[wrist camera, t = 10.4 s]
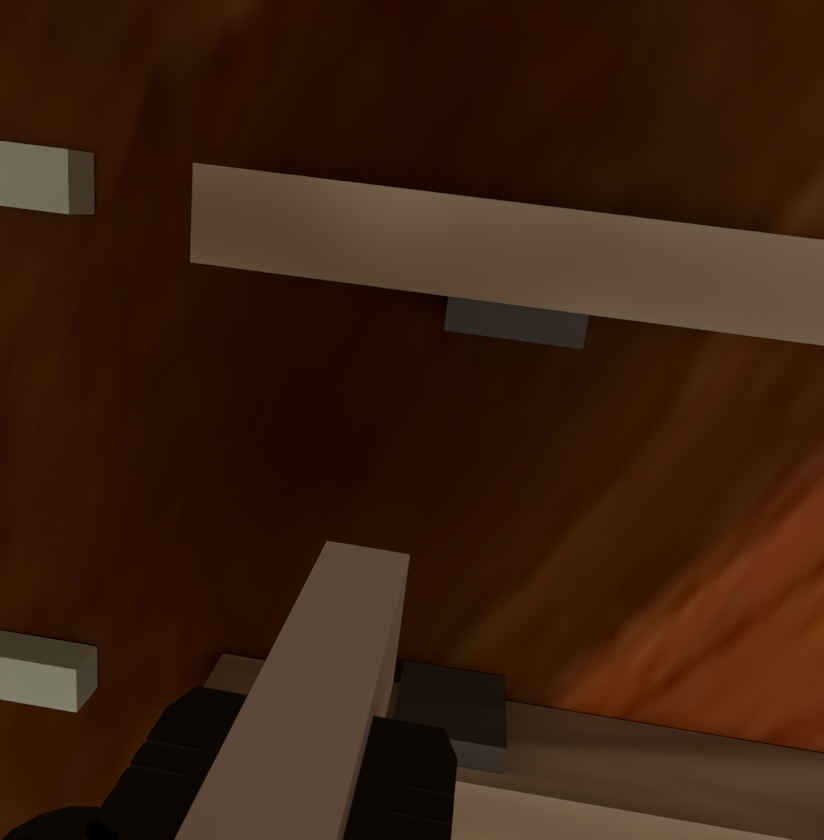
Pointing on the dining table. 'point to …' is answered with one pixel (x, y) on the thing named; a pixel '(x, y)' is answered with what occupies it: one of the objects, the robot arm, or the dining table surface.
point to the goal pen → (6, 651)
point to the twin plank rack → (563, 326)
